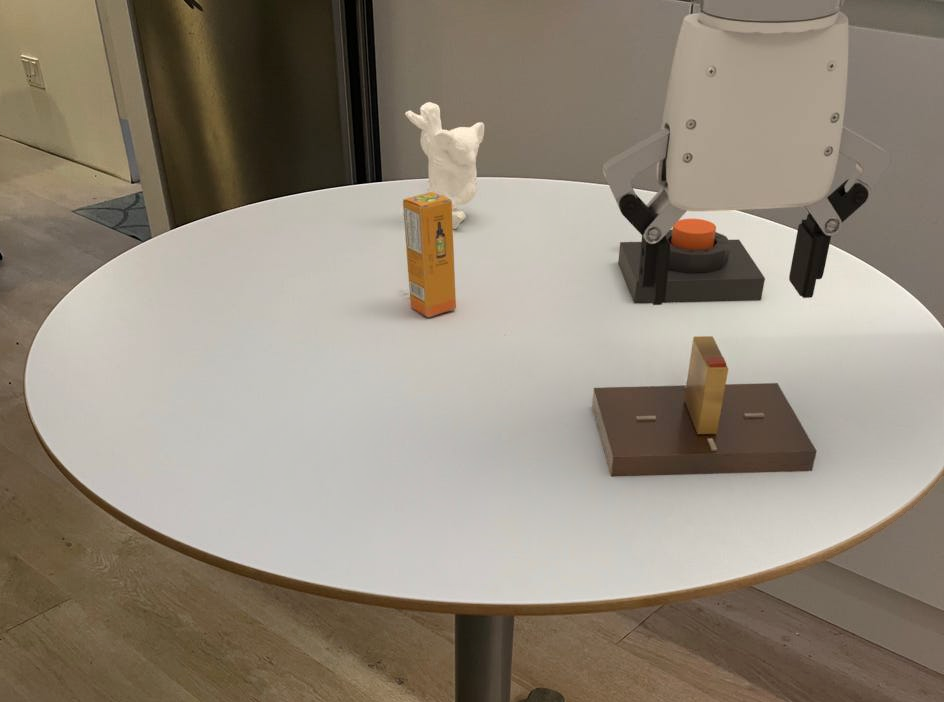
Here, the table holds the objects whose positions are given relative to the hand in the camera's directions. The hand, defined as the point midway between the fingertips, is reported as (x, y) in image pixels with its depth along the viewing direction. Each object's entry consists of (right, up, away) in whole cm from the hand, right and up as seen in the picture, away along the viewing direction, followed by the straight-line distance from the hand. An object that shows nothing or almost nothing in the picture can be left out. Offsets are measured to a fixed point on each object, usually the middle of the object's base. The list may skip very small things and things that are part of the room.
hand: (727, 293), depth 67 cm
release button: (+4, +15, +30) cm, 33 cm away
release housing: (+4, +12, +32) cm, 34 cm away
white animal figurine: (-19, +23, +45) cm, 54 cm away
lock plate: (0, -9, +8) cm, 12 cm away
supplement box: (-20, +8, +28) cm, 35 cm away
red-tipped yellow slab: (0, -7, +6) cm, 9 cm away
